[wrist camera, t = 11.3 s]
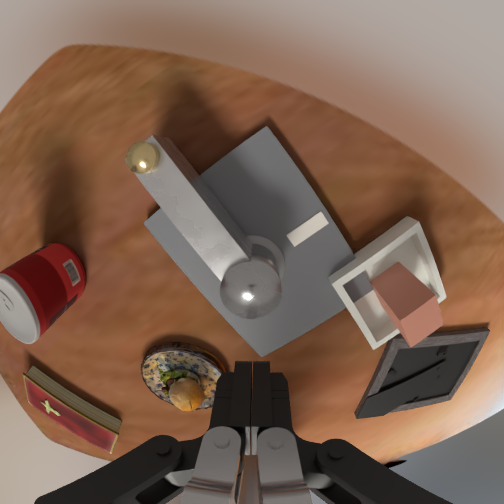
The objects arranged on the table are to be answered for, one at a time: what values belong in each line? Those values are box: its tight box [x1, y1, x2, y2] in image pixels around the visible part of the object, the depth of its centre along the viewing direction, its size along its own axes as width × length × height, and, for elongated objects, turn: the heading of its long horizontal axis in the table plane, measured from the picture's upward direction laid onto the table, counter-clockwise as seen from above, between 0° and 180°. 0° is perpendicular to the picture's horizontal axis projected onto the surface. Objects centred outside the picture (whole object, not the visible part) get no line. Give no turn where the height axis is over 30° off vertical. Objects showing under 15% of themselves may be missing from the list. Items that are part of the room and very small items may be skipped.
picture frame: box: [354, 328, 490, 419], centre depth 34 cm, size 16×2×21 cm
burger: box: [141, 342, 226, 411], centre depth 31 cm, size 12×12×8 cm
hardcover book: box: [23, 366, 122, 454], centre depth 38 cm, size 12×21×4 cm, turn 61°
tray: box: [328, 216, 446, 350], centre depth 28 cm, size 11×11×3 cm
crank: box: [125, 135, 282, 319], centre depth 23 cm, size 17×5×6 cm, turn 37°
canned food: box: [0, 243, 86, 344], centre depth 24 cm, size 8×8×11 cm
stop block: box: [369, 262, 444, 347], centre depth 25 cm, size 4×4×8 cm
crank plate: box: [144, 126, 374, 357], centre depth 28 cm, size 20×15×1 cm
